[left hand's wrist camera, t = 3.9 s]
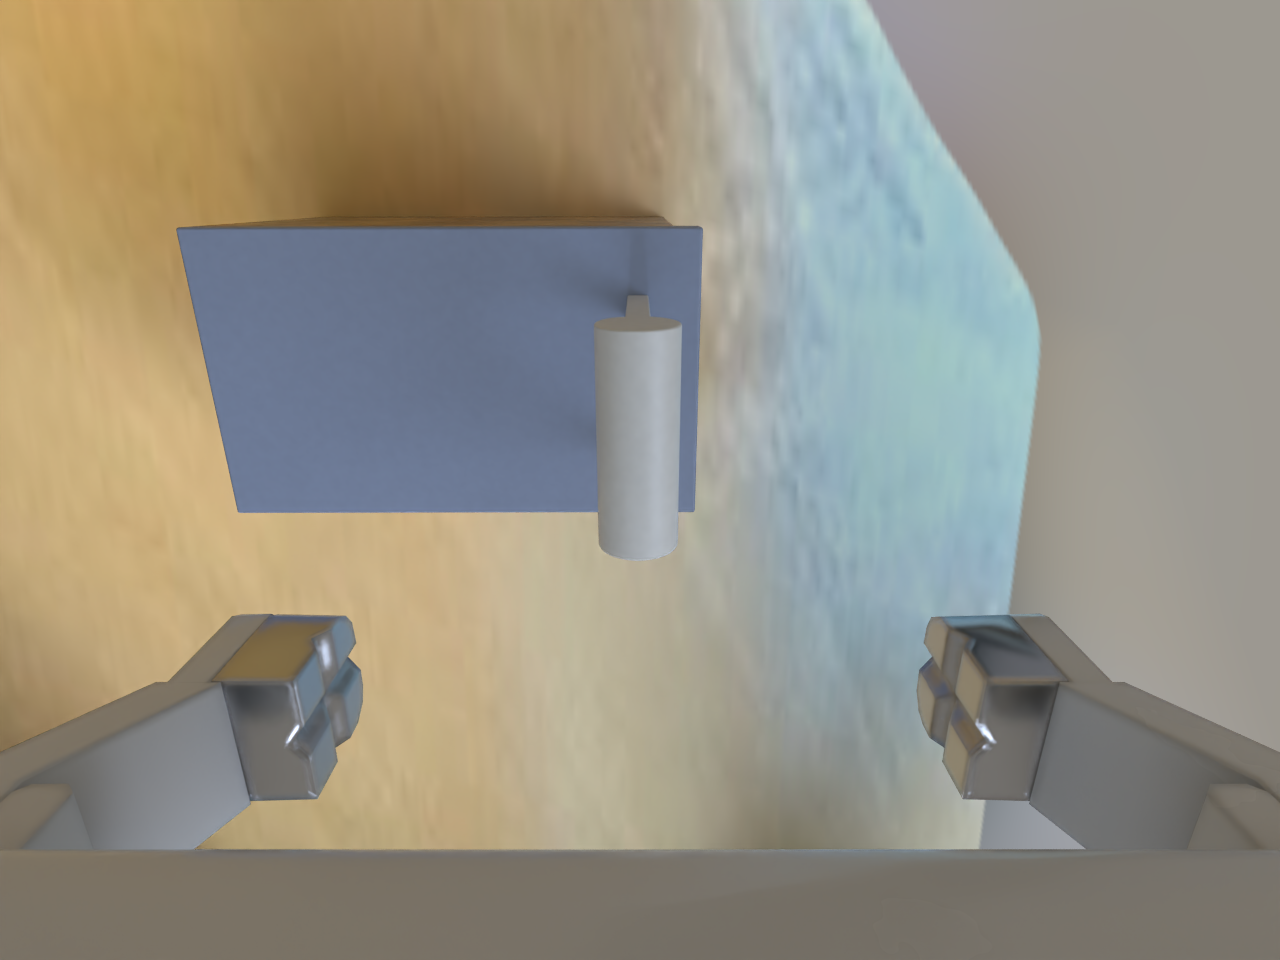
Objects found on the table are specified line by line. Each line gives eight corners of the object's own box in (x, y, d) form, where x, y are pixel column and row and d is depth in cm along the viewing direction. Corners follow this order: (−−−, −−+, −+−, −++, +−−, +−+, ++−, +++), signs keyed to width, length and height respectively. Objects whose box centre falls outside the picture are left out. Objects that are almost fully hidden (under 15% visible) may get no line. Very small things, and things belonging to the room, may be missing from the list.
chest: (663, 216, 35) (674, 225, 25) (661, 420, 38) (670, 499, 28) (323, 216, 35) (196, 226, 25) (353, 420, 38) (253, 500, 28)
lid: (699, 225, 25) (731, 241, 16) (692, 500, 28) (714, 625, 20) (195, 226, 25) (-27, 242, 16) (253, 501, 28) (94, 626, 20)
